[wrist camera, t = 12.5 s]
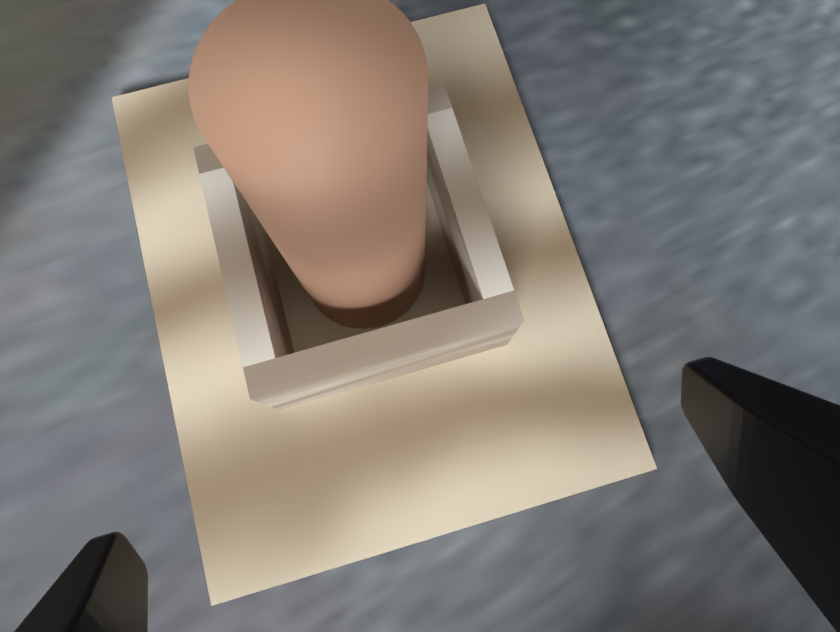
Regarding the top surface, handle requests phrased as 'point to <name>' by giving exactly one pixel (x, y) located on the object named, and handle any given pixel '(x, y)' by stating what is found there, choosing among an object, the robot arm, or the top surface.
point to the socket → (377, 343)
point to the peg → (325, 142)
